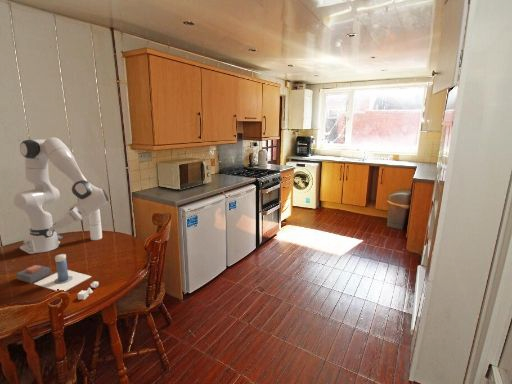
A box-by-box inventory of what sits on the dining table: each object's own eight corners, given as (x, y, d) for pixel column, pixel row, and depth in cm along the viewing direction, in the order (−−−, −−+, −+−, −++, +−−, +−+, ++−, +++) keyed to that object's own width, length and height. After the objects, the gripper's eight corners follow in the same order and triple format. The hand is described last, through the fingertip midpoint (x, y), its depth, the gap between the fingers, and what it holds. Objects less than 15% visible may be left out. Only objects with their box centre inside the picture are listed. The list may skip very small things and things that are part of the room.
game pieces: (84, 300, 129) (84, 294, 129) (77, 300, 130) (77, 293, 129) (100, 285, 141) (99, 280, 140) (93, 285, 141) (93, 279, 140)
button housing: (17, 279, 144) (16, 273, 144) (38, 270, 154) (37, 264, 153) (30, 283, 141) (29, 276, 140) (51, 273, 150) (50, 267, 150)
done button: (26, 274, 146) (25, 268, 145) (35, 270, 150) (34, 265, 149) (32, 275, 144) (31, 270, 144) (41, 271, 148) (40, 266, 148)
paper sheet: (33, 284, 141) (33, 283, 141) (64, 269, 155) (64, 268, 155) (62, 292, 134) (62, 292, 134) (91, 276, 149) (91, 276, 149)
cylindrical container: (104, 237, 201) (101, 203, 196) (96, 240, 195) (92, 205, 189) (96, 235, 204) (93, 202, 198) (88, 239, 197) (84, 204, 192)
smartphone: (51, 240, 193) (41, 235, 200) (51, 241, 193) (41, 236, 200) (63, 236, 199) (52, 232, 206) (63, 238, 199) (52, 233, 207)
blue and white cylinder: (55, 280, 143) (52, 257, 141) (64, 276, 148) (61, 253, 145) (62, 282, 142) (59, 258, 139) (71, 278, 146) (68, 255, 143)
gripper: (75, 204, 156) (50, 219, 151) (71, 210, 138) (43, 227, 133) (83, 213, 158) (59, 228, 153) (80, 220, 140) (52, 237, 135)
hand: (51, 227), depth 143 cm, fingers open, 8 cm apart
